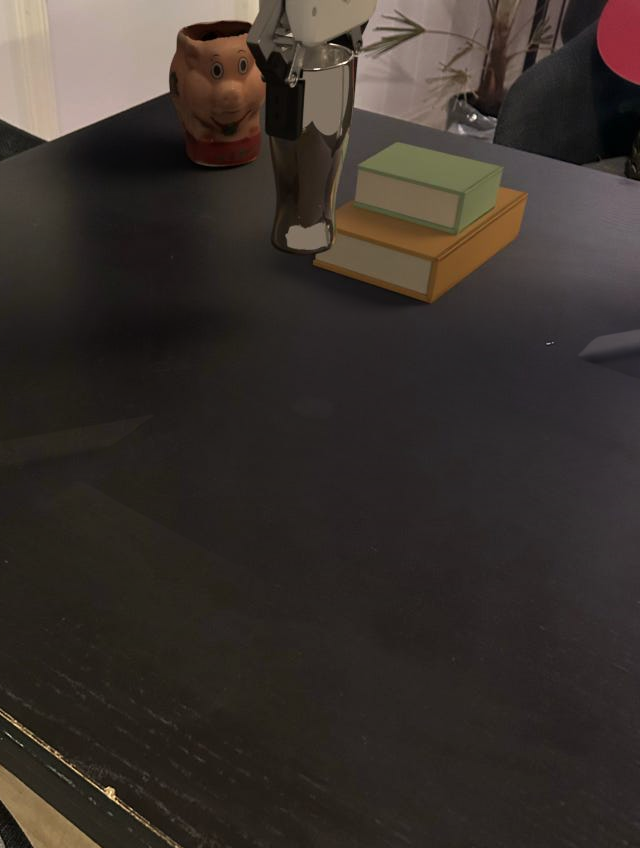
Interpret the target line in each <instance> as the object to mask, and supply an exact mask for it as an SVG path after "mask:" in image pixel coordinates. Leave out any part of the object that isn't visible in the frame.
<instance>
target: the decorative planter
mask: <svg viewBox="0 0 640 848" xmlns="http://www.w3.org/2000/svg"><path fill="white" fill-rule="evenodd" d="M252 25H253V22H250V21H246V20H242V19H223V20H221V19H220V20H214V21H202V22H196V23H192V24H190V25H186V26H183V27H181V28H180V29H179V30H178V32H177V35H176V45H175V46H176V49H175V53H174V55H173V57H172V59H171V63H170V66H169V72H168V87H169V89H168V90H169V93H170V94H169V95H170V99H171V101H172V103H173V106H174V108H175V110H176V113H177V116H178V120H179V122H180V124H181V128H182V131H183V134H184V138H185V151H186V154H187V156H188V157H189V159H190V160H191V161H192V162H194V163H195V164H198V165H202V166H205V167H230V166H237V165H243V164H246V163H250V162H252V161H254V160H256V159H257V158H258V157H259V154H260V152H261V148H262V142H263V140H262V134H261V124H260V111H261V107H262V106H263V104H264V102H265V100H266V83H264V82H262V80H261V72H260V71H259V69H258V68H257V66H256V64H255V59H254V57H253V55H252V54H251V52H250V50H249V48H248V46H247V44H246V38H247V35H248V33H249V31H250V29H251V27H252Z"/></svg>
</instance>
